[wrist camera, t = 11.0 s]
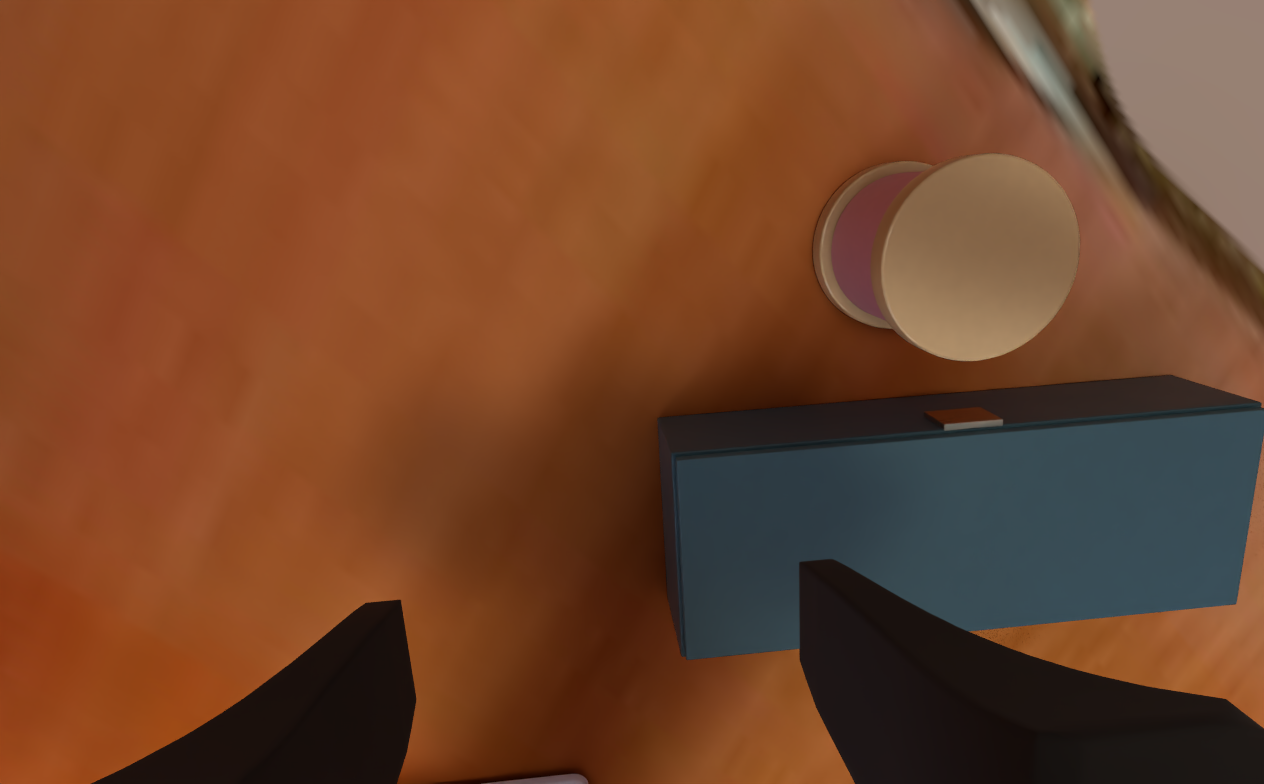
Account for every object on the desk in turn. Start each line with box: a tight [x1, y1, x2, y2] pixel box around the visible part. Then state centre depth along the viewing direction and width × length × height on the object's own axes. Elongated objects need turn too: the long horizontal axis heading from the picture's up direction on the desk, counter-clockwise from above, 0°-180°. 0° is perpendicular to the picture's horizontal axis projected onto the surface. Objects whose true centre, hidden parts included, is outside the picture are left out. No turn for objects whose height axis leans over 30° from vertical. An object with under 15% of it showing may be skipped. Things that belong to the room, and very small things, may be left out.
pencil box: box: [657, 375, 1264, 660], centre depth 22 cm, size 16×6×4 cm, turn 94°
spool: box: [813, 153, 1080, 361], centre depth 19 cm, size 5×5×5 cm
